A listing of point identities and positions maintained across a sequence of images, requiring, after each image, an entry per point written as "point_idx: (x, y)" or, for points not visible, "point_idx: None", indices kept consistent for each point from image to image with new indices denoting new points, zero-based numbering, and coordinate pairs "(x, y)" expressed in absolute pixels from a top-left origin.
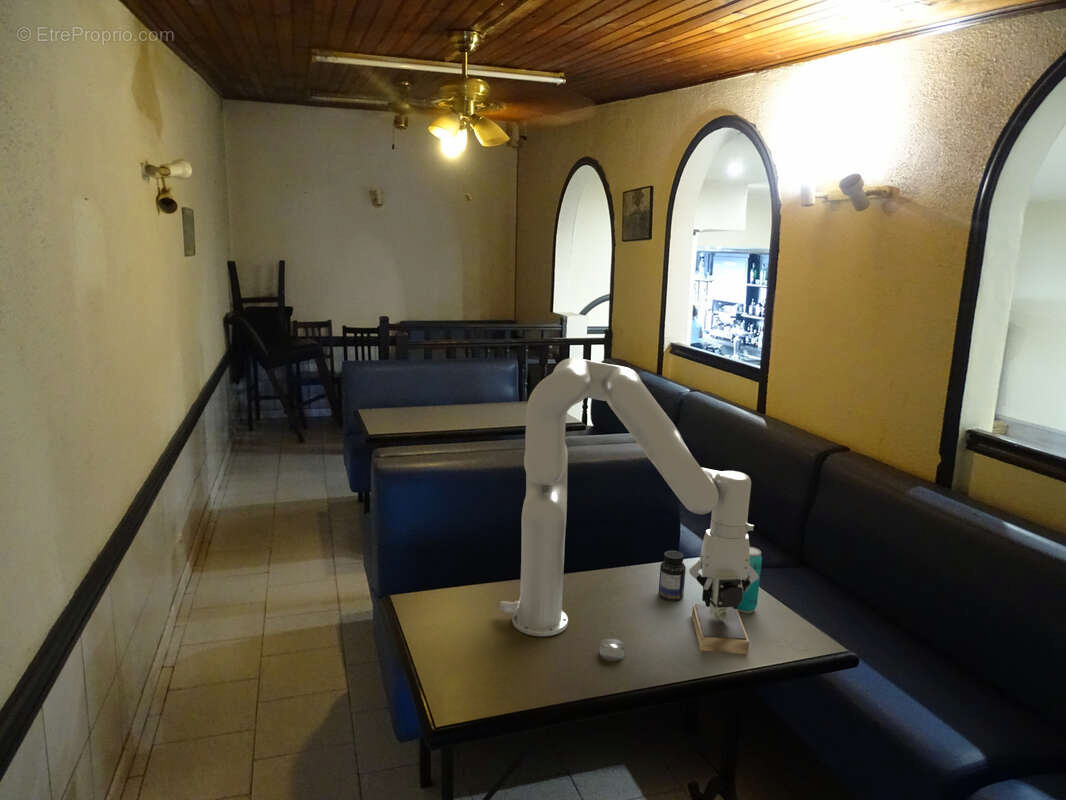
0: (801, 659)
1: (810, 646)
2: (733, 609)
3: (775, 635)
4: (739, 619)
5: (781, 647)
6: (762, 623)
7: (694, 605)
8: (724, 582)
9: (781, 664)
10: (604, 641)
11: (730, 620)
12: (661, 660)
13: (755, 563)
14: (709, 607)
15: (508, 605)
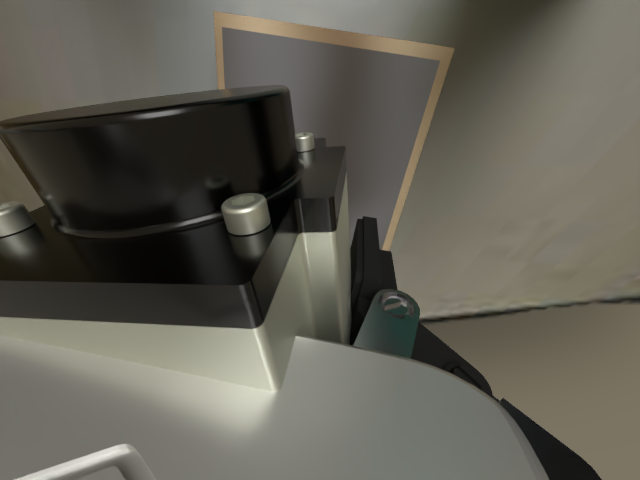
0: (509, 310)
1: (604, 260)
2: (415, 97)
3: (531, 192)
4: (397, 197)
5: (494, 259)
6: (550, 92)
7: (221, 28)
8: None
9: (436, 321)
10: None
11: (354, 202)
12: None
13: None
14: (291, 73)
15: None
